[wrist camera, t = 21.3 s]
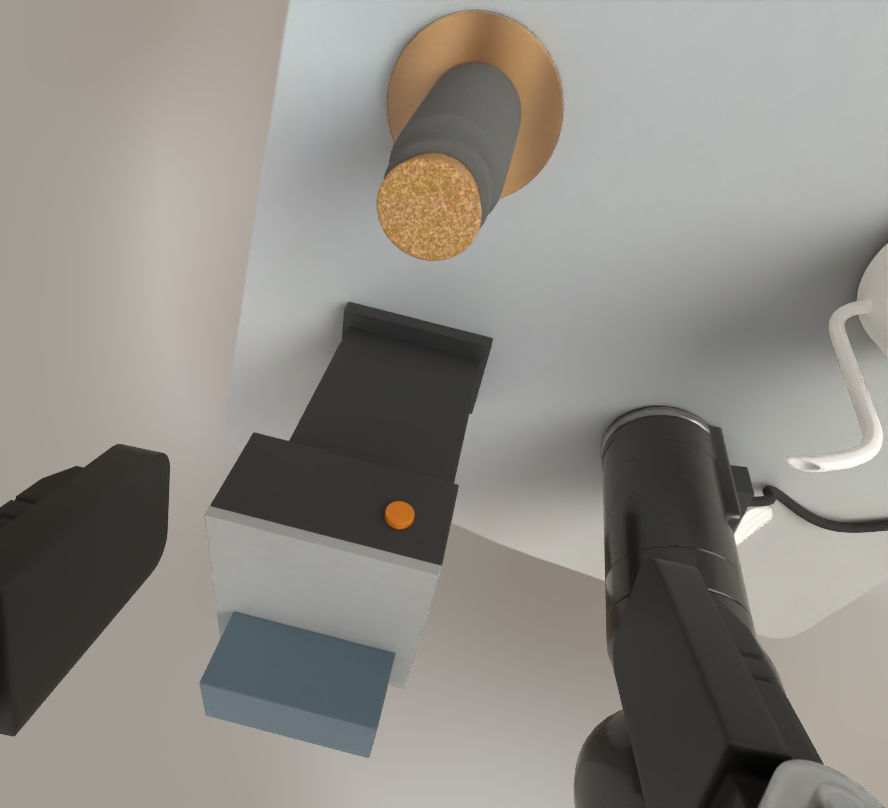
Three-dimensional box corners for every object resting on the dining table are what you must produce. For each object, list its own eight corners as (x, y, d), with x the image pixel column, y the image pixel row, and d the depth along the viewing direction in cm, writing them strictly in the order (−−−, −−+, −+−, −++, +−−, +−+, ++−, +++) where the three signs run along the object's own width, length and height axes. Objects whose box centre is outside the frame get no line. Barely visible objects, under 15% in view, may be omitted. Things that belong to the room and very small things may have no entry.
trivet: (575, 13, 35) (575, 16, 35) (552, 203, 42) (551, 207, 42) (384, 6, 37) (381, 8, 36) (393, 191, 44) (391, 195, 43)
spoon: (792, 515, 57) (793, 519, 56) (681, 608, 69) (681, 612, 68) (739, 495, 56) (740, 499, 56) (636, 592, 68) (637, 596, 68)
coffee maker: (353, 247, 47) (144, 583, 25) (508, 286, 47) (435, 659, 25) (342, 372, 55) (177, 708, 33) (473, 405, 55) (396, 765, 33)
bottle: (414, 79, 38) (341, 168, 27) (506, 45, 36) (469, 126, 25) (447, 171, 41) (394, 285, 30) (533, 145, 39) (510, 256, 28)
